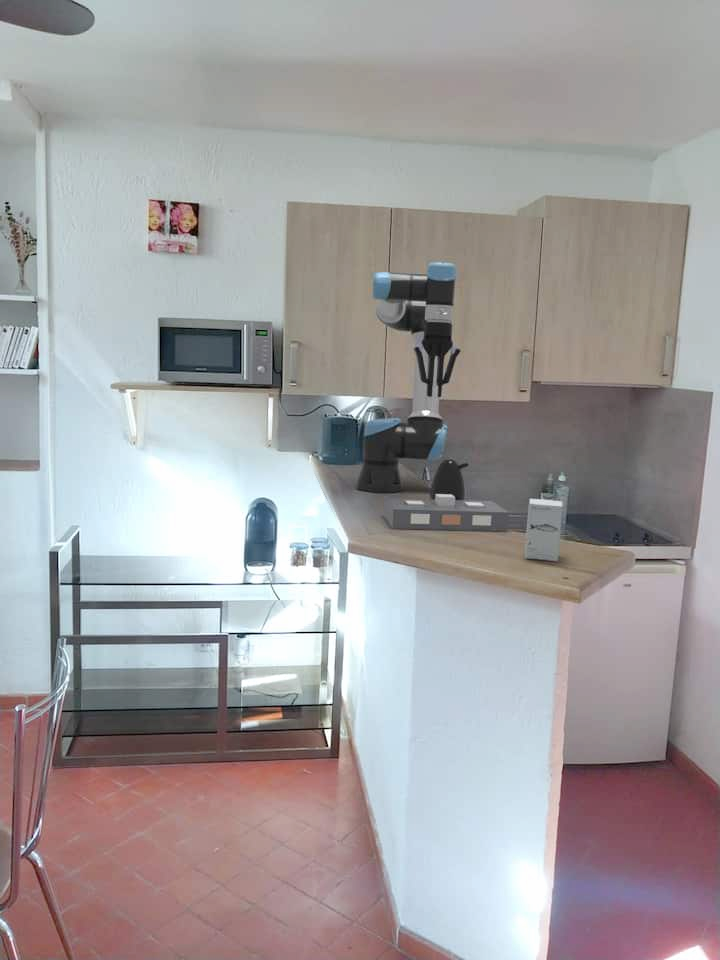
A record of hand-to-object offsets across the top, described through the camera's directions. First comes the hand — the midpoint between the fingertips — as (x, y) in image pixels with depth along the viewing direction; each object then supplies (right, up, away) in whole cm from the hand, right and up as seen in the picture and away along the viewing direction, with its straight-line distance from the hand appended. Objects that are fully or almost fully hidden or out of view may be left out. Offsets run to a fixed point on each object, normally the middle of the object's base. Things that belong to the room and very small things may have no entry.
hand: (433, 409), depth 218 cm
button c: (+10, -30, -7) cm, 33 cm away
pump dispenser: (+5, -29, +10) cm, 31 cm away
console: (+2, -31, -8) cm, 32 cm away
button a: (-6, -30, -9) cm, 32 cm away
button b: (+2, -28, -9) cm, 29 cm away
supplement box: (+21, -37, -40) cm, 58 cm away
